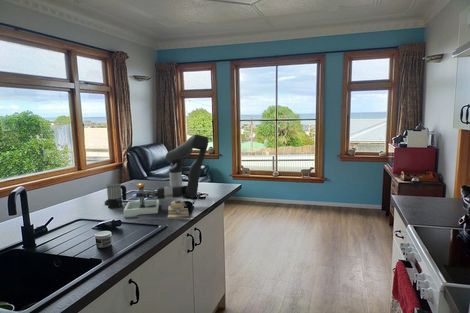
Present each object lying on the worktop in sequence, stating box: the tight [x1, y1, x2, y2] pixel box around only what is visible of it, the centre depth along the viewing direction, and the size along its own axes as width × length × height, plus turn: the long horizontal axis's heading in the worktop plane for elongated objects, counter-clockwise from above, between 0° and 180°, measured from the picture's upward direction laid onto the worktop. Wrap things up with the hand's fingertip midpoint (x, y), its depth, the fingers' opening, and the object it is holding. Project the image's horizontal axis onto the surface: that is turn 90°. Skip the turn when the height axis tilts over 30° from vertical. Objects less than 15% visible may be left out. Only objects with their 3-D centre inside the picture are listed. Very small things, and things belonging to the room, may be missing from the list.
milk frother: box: [104, 183, 127, 209], centre depth 210 cm, size 14×16×15 cm
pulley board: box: [167, 199, 190, 220], centre depth 191 cm, size 25×12×9 cm, turn 11°
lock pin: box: [136, 182, 146, 209], centre depth 194 cm, size 5×5×15 cm
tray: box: [123, 199, 160, 218], centre depth 195 cm, size 19×19×4 cm
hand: (136, 194), depth 193 cm, fingers closed on lock pin, 3 cm apart
